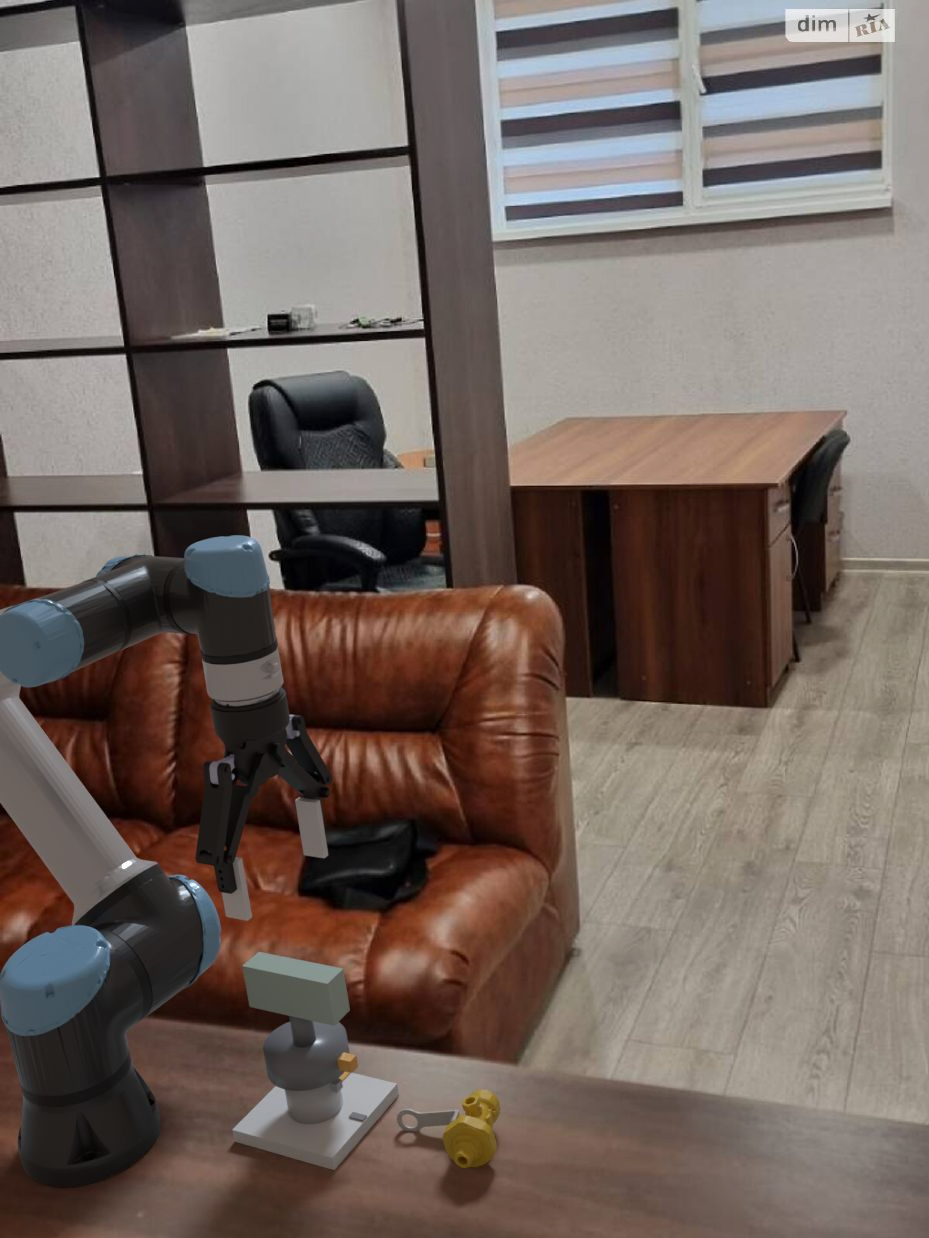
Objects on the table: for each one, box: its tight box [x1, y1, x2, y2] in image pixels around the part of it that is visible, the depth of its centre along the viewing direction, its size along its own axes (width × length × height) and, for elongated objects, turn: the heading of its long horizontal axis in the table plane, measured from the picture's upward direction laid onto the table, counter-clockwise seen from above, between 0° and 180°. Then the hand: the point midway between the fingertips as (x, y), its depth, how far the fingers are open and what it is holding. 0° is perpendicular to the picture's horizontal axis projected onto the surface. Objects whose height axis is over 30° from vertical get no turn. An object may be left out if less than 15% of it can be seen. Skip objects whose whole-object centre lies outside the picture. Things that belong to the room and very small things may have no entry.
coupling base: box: [232, 1072, 400, 1171], centre depth 148 cm, size 13×13×6 cm
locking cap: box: [242, 951, 359, 1091], centre depth 145 cm, size 12×9×12 cm
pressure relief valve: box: [396, 1089, 501, 1169], centre depth 141 cm, size 6×12×10 cm
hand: (279, 885), depth 141 cm, fingers open, 13 cm apart
